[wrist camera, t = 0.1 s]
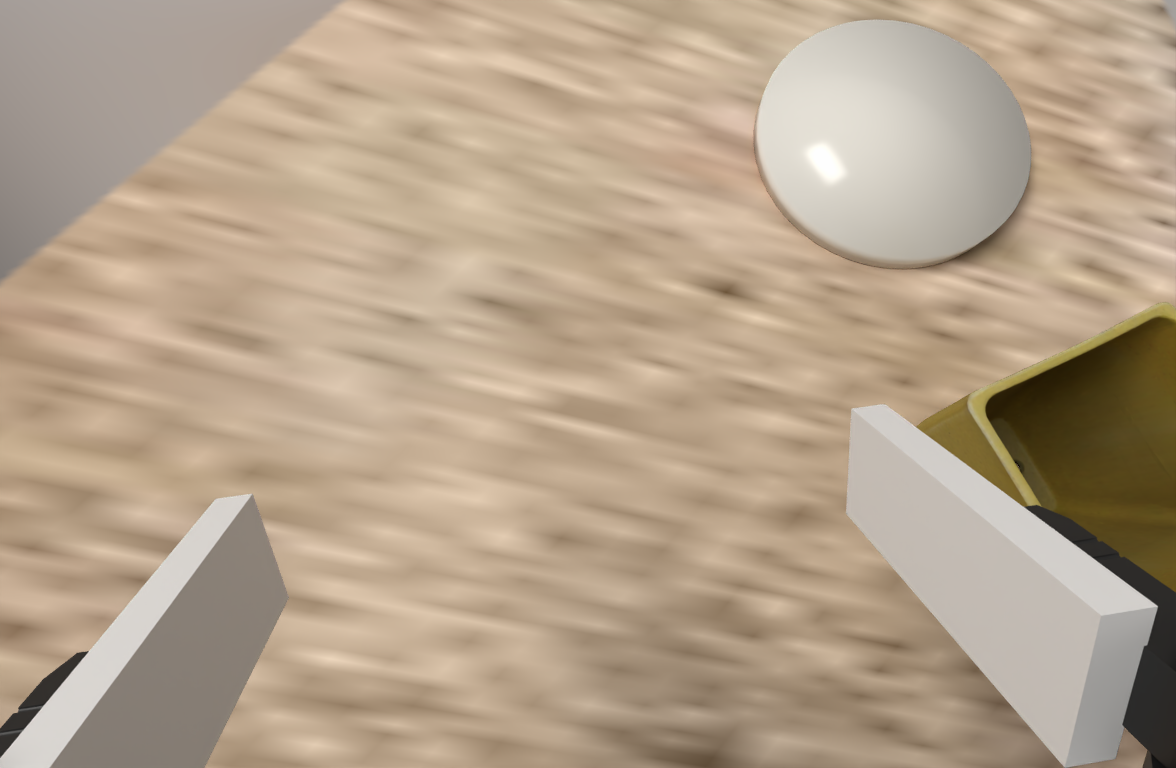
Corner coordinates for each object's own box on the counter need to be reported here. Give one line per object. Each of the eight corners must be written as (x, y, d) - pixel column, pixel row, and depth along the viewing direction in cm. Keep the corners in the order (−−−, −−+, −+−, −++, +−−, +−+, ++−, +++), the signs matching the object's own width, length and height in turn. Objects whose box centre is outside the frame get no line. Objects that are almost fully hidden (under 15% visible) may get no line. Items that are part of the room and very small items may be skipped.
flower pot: (951, 617, 28) (1119, 648, 20) (852, 439, 30) (964, 396, 22) (1112, 531, 30) (1338, 525, 21) (1006, 365, 31) (1173, 295, 23)
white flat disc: (1050, 251, 33) (1067, 240, 32) (784, 284, 32) (792, 274, 31) (972, 25, 36) (986, 7, 35) (730, 50, 35) (735, 33, 34)
